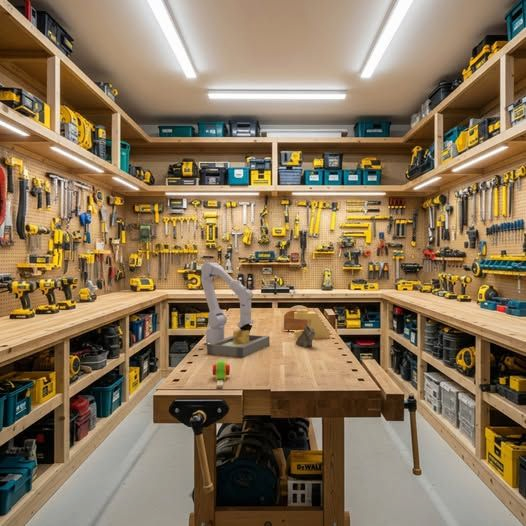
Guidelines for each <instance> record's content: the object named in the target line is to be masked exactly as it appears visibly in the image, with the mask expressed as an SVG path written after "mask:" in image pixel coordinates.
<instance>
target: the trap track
mask: <svg viewBox="0 0 526 526" xmlns="http://www.w3.org/2000/svg"><path fill="white" fill-rule="evenodd" d="M268 345H269V346H270V336H268V335H257V334H256V335H253V334H249V342H248V343H246V344H235V343H233V335H231V336H228V337H224V339H222V340H219V341H216V342H213V343H210V344H206V350H207V351H206V354H207V353H212V354H211V355H213V354H219V355H218V356H223V355H228V356H227V357H232V356H236V357H235V358H241V357H243V358H245V357H247V356H249V355H251V354H253V353H255V351H256V352H257V350H258V351H260V350H262V349H264V348H266V347H269V346H268ZM265 346H266V347H265ZM263 347H264V348H263ZM261 348H262V349H261ZM259 349H260V350H259ZM250 353H251V354H250ZM248 354H249V355H248ZM246 355H247V356H246ZM244 356H245V357H244Z"/></svg>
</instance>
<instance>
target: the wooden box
mask: <svg viewBox="0 0 526 526" xmlns="http://www.w3.org/2000/svg"><path fill="white" fill-rule="evenodd" d="M298 309H306V310H308V312H311V310H310V309H309V308H308V307H307V306H304V305H294V306H291V307H290V308H289V309H288V310H287V311H286V312H285V313H284V314H283V329H284V330H304V328H305V327H306V326H307V325H309V319H294V312H296V310H298ZM284 330H283V331H284Z"/></svg>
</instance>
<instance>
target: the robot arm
mask: <svg viewBox="0 0 526 526" xmlns="http://www.w3.org/2000/svg"><path fill="white" fill-rule="evenodd" d="M200 271H201V276H200V281H201V284H202V288H203V293H204V296H205V299H206V302H207V306H208V309H209V312H208V314H207V319H208V321H207V322H208V325H209V327H207V328H206V331H205V343H204V344H205V345H207V344H206V343H213V342H216V341H219V340H222V339H225V325H226V323H227V320H228V319H227V317H226V315H225V314H224V311H223V310H222V309H221V308H220V305H219V302H218V298H217V294H216V292H215V288H214V284H213V279H214V278H215V277H216V276H219V277H220V279H222V280H224V282H226V283H227V284H228V286H229V289H230V290H231V291H232V292H233V293H234V294H235V295H237V298H238V300H239V307H240V308H239V321H238V323H237V328H239V330H249V334H250V332H251V329H252V328H253V325H252V324H254V319H252V299H253V297H254V293H253V292H252V290H251V289H249V288H247V287H246V286H244V285H243V284H242V283H241V281H240V280H239V279H234V278H232V276H231V275H230V274H229V273H228V272H227V271H226V270H225V269H224V267H223V266H222V265H220V263H218V262H204V263H203V264H202V266H201V268H200Z"/></svg>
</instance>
